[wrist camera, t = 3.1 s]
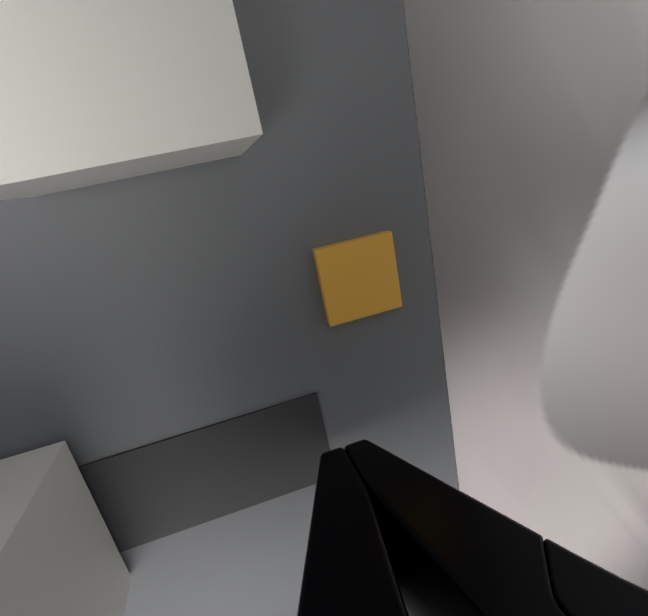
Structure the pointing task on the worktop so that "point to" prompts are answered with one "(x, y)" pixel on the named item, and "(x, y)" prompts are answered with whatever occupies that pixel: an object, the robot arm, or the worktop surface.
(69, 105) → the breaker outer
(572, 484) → the worktop surface
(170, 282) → the breaker panel
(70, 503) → the block
